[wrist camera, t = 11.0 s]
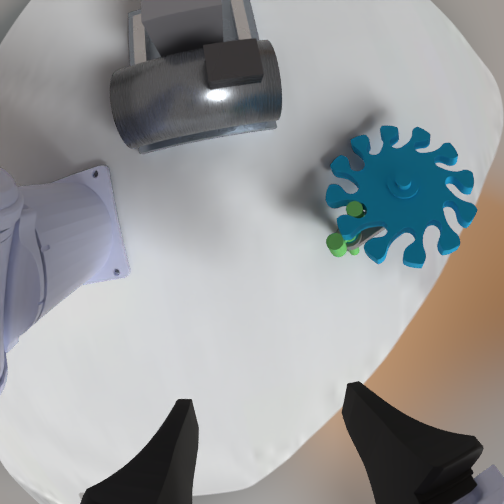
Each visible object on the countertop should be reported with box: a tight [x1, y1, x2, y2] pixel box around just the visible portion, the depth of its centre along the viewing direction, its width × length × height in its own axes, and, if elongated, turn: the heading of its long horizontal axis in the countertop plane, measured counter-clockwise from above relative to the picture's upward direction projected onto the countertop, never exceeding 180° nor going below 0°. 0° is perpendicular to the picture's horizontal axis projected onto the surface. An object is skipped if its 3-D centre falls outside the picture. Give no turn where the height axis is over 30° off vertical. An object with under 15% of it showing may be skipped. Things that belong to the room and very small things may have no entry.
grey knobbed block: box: [141, 0, 223, 57], centre depth 12 cm, size 4×5×6 cm
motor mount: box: [110, 0, 282, 154], centre depth 13 cm, size 9×12×7 cm
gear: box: [325, 126, 477, 268], centre depth 17 cm, size 11×6×10 cm
